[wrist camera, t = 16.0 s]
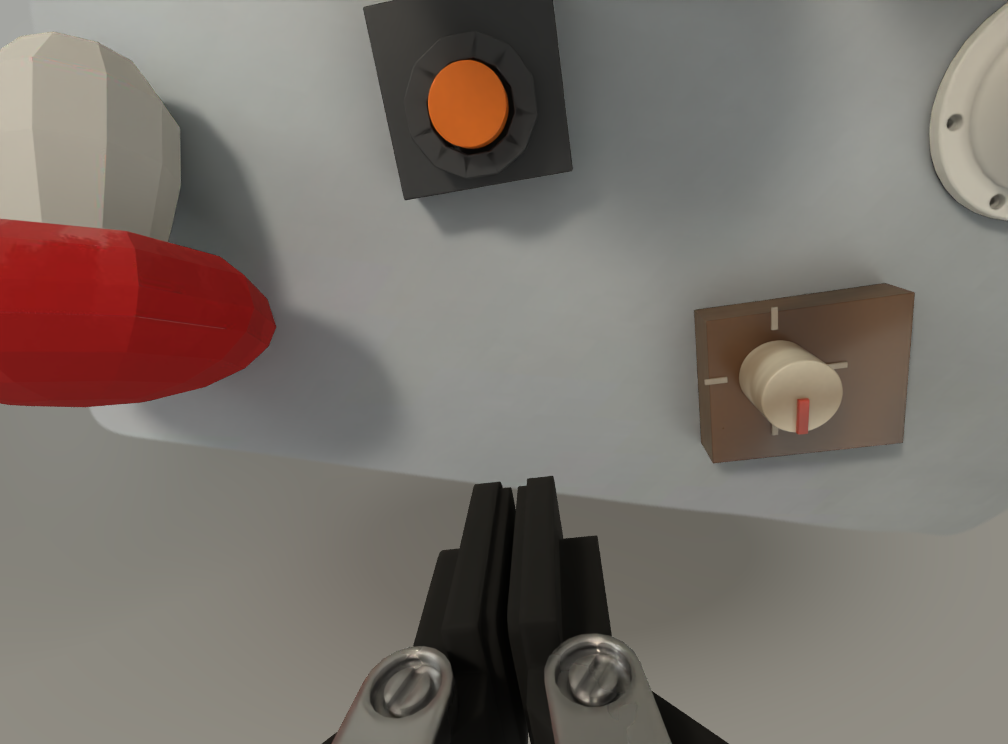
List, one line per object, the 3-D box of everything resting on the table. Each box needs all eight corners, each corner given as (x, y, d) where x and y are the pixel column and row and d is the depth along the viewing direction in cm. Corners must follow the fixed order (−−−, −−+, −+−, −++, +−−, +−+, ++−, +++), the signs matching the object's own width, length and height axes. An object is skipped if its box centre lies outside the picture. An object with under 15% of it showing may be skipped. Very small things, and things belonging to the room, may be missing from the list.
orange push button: (502, 59, 28) (499, 52, 27) (514, 141, 30) (512, 139, 28) (427, 74, 29) (420, 68, 27) (442, 154, 30) (436, 153, 29)
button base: (548, -15, 31) (548, -49, 26) (570, 171, 34) (574, 170, 30) (379, 22, 32) (351, -4, 28) (415, 198, 36) (396, 202, 31)
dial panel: (886, 278, 35) (917, 287, 32) (877, 423, 39) (904, 444, 36) (689, 306, 37) (701, 317, 34) (696, 443, 40) (709, 465, 37)
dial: (738, 344, 34) (764, 366, 30) (812, 336, 34) (849, 358, 30) (738, 408, 36) (762, 438, 32) (809, 401, 35) (843, 431, 31)
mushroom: (-266, 1, 26) (-287, 422, 25) (-68, -194, 19) (-81, 393, 17) (147, 164, 44) (150, 412, 43) (332, 98, 37) (343, 396, 35)
